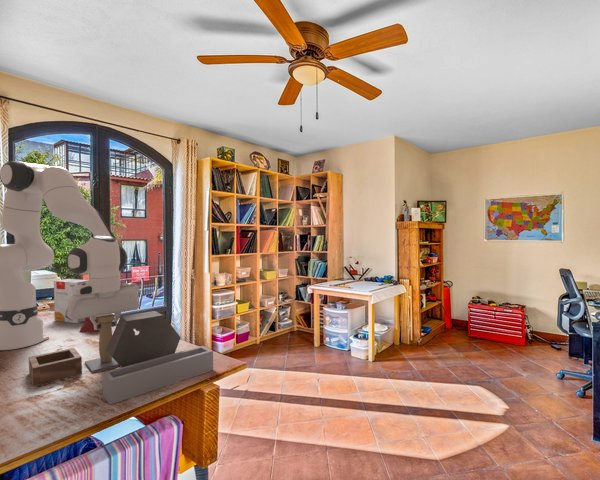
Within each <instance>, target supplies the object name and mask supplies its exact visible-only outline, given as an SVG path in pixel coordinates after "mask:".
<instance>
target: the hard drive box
mask: <svg viewBox="0 0 600 480" xmlns="http://www.w3.org/2000/svg"><path fill="white" fill-rule="evenodd" d="M87 281H89V279H77V278H64V279H56V280H53V301H54V302H53V310H54V313H53V314H54V321H56V322H65V323H72V324H73V323H74V324H81V323H83V322H85V318H81V319H75V320H71V319H70V318H68V316H67V308H68V301H69V298H70V297H71V296H72V295H73V293H72V287H74V286H76V285H79V284H82V283H85V282H87Z"/></svg>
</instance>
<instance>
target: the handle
mask: <svg viewBox="0 0 600 480" xmlns="http://www.w3.org/2000/svg"><path fill="white" fill-rule="evenodd" d="M115 317H116V315H115V314H114V313H112V314H106V315H100V316H96V320H97V322H98V323H100V324H101V326H100V327H101V329H100V332H99V338H98V351H99V352H98V353H99V358H101V359H100V361H101V363H107V362H110V361H111V360H112V356H111V355H110V354H109V353H108V351H107V350H106V349H107V347H108V344H109V342H110V340H111V337H112V335H113V327H112V321H113V320H114V319H115Z"/></svg>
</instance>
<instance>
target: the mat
mask: <svg viewBox="0 0 600 480" xmlns="http://www.w3.org/2000/svg"><path fill="white" fill-rule="evenodd" d="M100 359H101V358H100V357H99V358H98V357H97V358H95V359H89V360H85V361H84V365H85V366H86V367H87V369H88V370H89V371H90V372H91V374H94V373H98V372H102V371H105V370H107V371H108V370H111V369H114V368H116V367H117V368H119V367H121V366H120V365H119V364H118V363H117V362H116V361H115V360H114V359H113V358H112V360H111V361H110V362H107V363H101V361H100Z"/></svg>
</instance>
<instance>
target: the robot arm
mask: <svg viewBox="0 0 600 480" xmlns="http://www.w3.org/2000/svg"><path fill="white" fill-rule="evenodd" d="M0 182H1V184H2V185H3V186H4V188H6V192H5V196H4V200H3V206H2V214H1V221H0V225H1V228H2V229H3V230H4V231H5V232H6V233H8V234H10V235H12V236H14V243H2V244H0V351H9V350H10V351H11V350H17V349H22V348H26V347H30V346H33V345H36V344H38V343H41V342H43V341H45V340H46V341H47V340H48V339H50V335H47V334H45V333H44V322H43V318H41V317H39V316H38V314H39V308H38V305H37V293H36V292H37V291H36V286H35V284H33V283H31V282H29V281H26V280H24V279H23V278H22V276H21V272H30V271H31V272H32V271H38V270H41V269H45V268H48V267H50V266H51V265H52V264H53V262H54V259H55V253H54V249H52V247H50V246H49V245H48V244H47V243H46V242H45V241H44V239H43V237H42V234H41V229H40V227H41V224H40V223H41V215H42V214H41V213H42V207H43V205H42V204H43V200H44V203H45V205H46V208H47V210H48V211H49V212H50V214H52V215H53V216H54V217H56V218H57V219H58V220H59V219H60V220H62V221H65V222H70V223H74V224H76V225H79V226H81V227H83V228H85V229H88V231H89V232H91V235H93V236H91V237H89V239H88V241H87V242H86V243H84V244H81V245H79V246H77V247H73V248H72V249H70V251H69V252H68V254H67V255H66V265H67V269H68V270H69V271H70V272H72V273H73V274H75V275H79V276H80V275H81V276H83V275H84V276H85V275H88V280H89V281H87V282H85V283H82V284H79V285H76V286H74V287H72V293H73V295H72V296H71V297H70V298H69V301H68V308H67V316H68V318H70V319H71V320H75V319H81V318H87V317H90V320H91V321H92V323H93V324H94V330H99V329H101V327H100V326H101V324H100V323H96V322H95V320H96V316H100V315H106V314H114V315H115V319H114V320H113V321H112V328H114V327H115V328H116V326H117V324H118V321H119V319H120V317H121V316H122V313H123V312H124V313H125V312H130V311H135V310H138V309H139V308H140V306H141V305H140V297H139V293H140V286H139V285H138V284H137V283H135V282H130V283H121V271H122V270H123V269H124V268H125V266H126V265H127V262H128V255H127V251H126V250H125V248H124V247H123V246H122V245H121V244H120V243H119V241H118V239H117V238H116V237H115V235H114V233H113V232H112V230H111V228H110V227H109V225H108V223H107V222H106V220H105V218H104V217H103V216H102V214H101V213H100V211H98V209H96V208H95V207H93V206H92V205H91V204H90V203H89V202H88V201H87V200H86V198H85V197H84V195H83V193H82V192H81V189H80V187H79V185H78V183H77V181H76V179H75V178H74V175H73V173H71V172H70V171H69V169H67V168H65V167H62V166H59V165H58V166H56V165H54V166H53V165H52V166H51V165H50V166H49V165H46V164H42V163H40V164H39V163H32V162H23V161H21V160H10V161H7V162H5V163H4V164H3V165H2V166H1V168H0Z"/></svg>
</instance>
